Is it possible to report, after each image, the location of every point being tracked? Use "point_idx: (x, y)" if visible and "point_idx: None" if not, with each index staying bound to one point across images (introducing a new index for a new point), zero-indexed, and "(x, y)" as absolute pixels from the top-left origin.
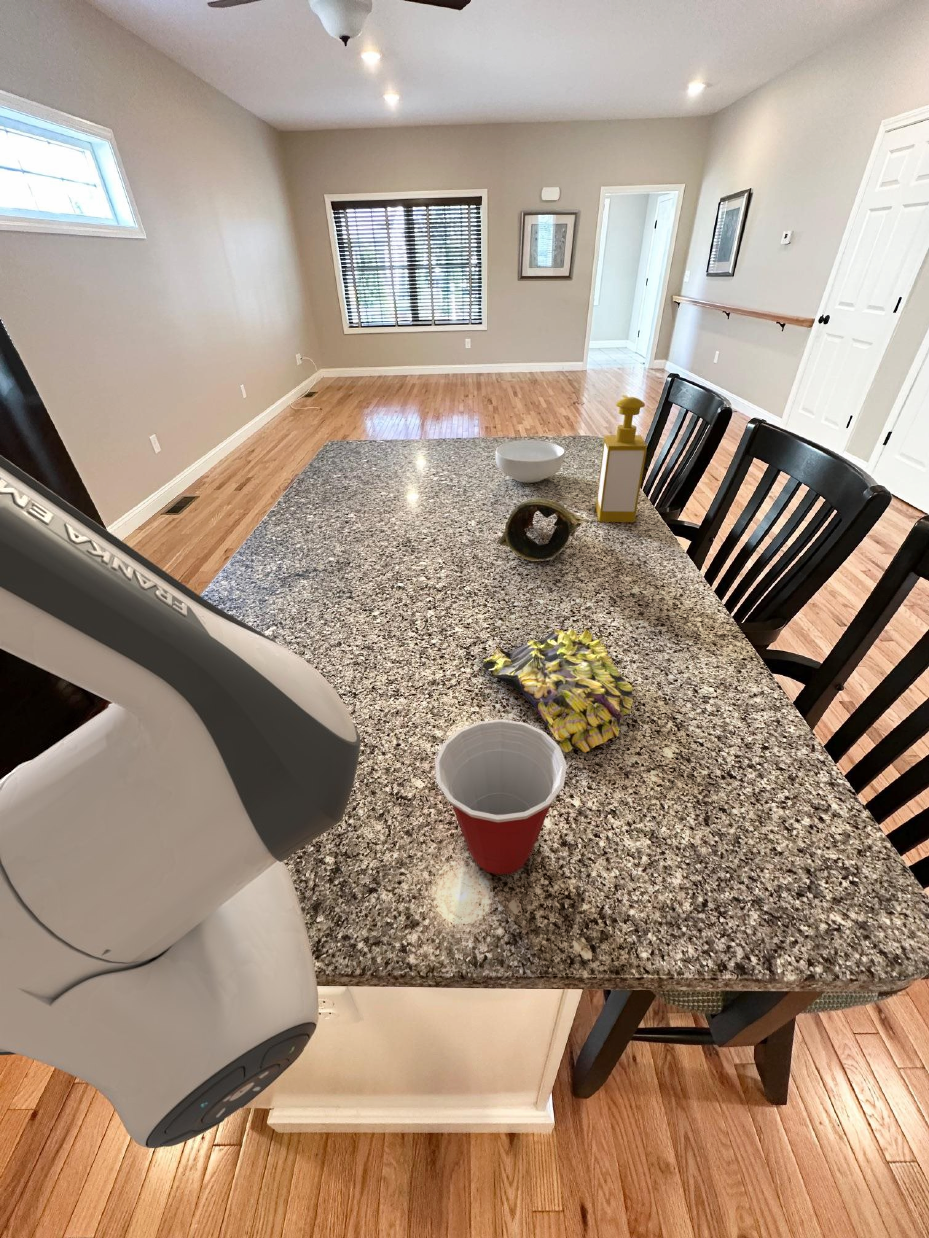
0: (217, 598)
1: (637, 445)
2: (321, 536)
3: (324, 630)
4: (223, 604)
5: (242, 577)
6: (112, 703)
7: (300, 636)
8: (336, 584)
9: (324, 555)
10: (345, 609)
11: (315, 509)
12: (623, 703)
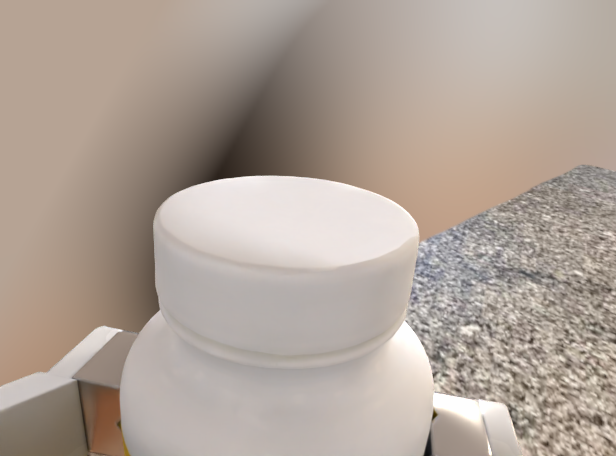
0: None
1: None
2: (562, 241)
3: (565, 376)
4: None
5: (446, 246)
6: (110, 329)
7: (519, 364)
8: (588, 310)
9: (566, 264)
10: (607, 358)
11: (554, 211)
12: None
